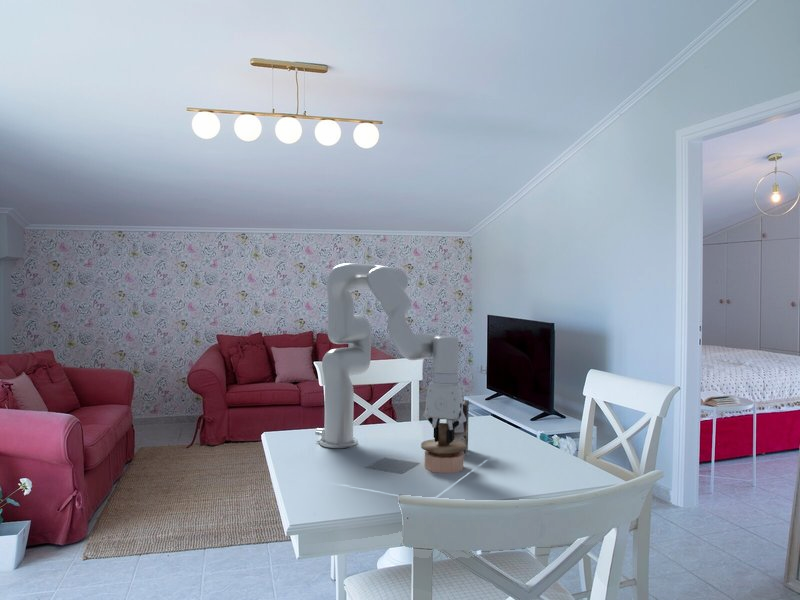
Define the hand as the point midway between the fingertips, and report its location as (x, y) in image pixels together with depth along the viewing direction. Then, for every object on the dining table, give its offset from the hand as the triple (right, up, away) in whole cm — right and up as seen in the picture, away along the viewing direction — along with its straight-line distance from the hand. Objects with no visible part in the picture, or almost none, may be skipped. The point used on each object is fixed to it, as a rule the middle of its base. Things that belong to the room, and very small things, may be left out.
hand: (443, 441), depth 182 cm
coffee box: (+5, -8, +18) cm, 20 cm away
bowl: (0, -8, 0) cm, 8 cm away
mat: (-15, -8, +1) cm, 17 cm away
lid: (0, -2, 0) cm, 2 cm away
